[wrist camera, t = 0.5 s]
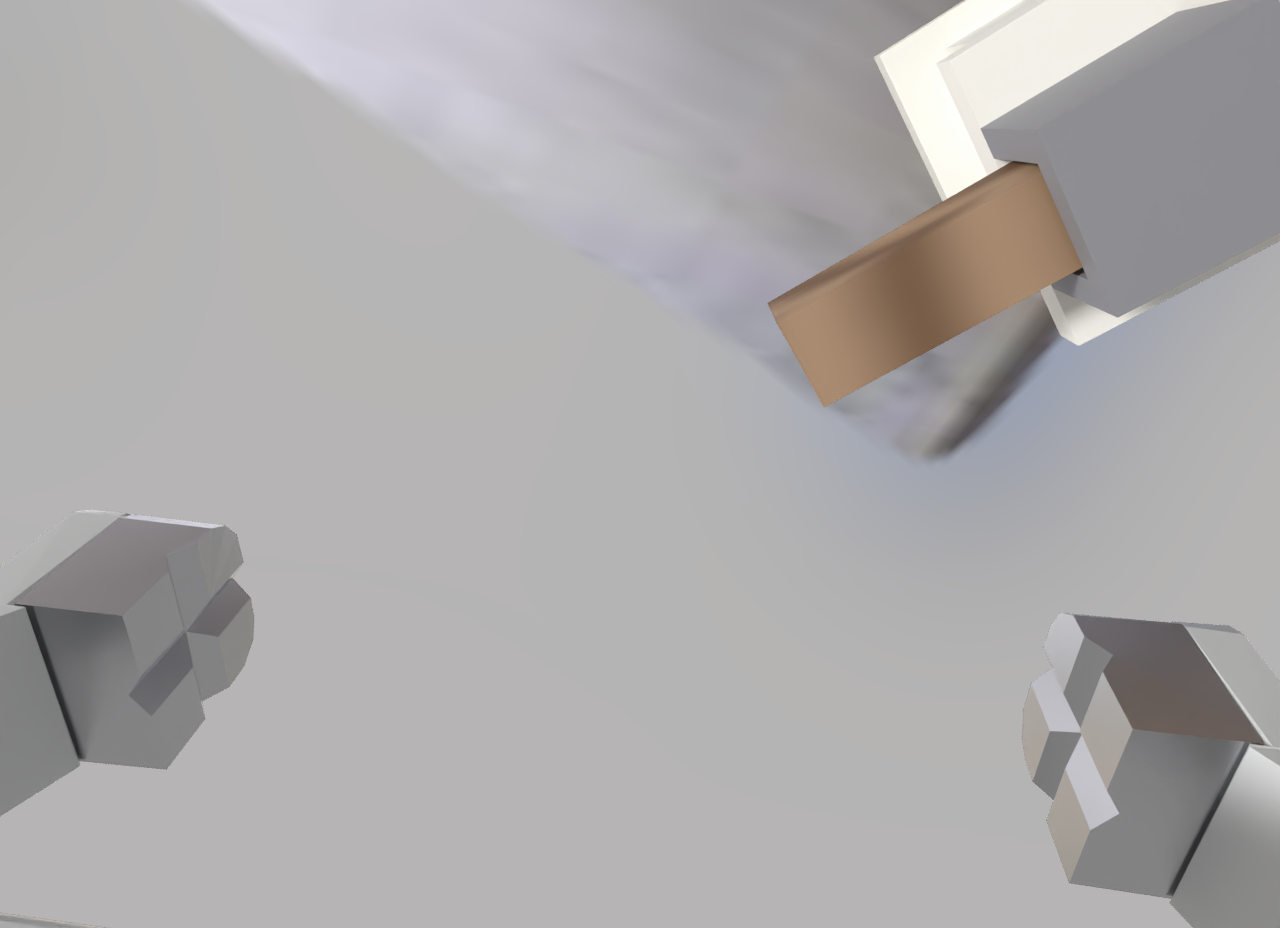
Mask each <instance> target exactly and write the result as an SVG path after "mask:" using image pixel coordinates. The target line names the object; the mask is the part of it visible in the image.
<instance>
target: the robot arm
mask: <svg viewBox="0 0 1280 928" xmlns="http://www.w3.org/2000/svg"><path fill="white" fill-rule="evenodd" d="M242 563H243V558H242V554H241V550H240V546H239V542H238V538H237V534H235V533H234V532H232V531H231V530H230V529H229V528H227V527H226V526H224V525H217V524H209V523H201V522H193V521H184V520H177V519H168V518H160V517H153V516H145V515H136V514H135V515H130V514H127V513H119V512H108V511H99V510H83V511H75V512H72V513H70V514H69V515H67V516H66V517H65V518H63V519H62V520H61V521H59V522H58V523H57V524H55V525H54V526H53V527H51V528H50V529H49V530H47V531H46V532H45V533H43V534H42V535H41V536H39V537H38V538H37V539H35V540H34V541H33V542H31V543H30V544H29V545H27V546H26V547H25V548H24V549H22V550H21V551H19V552H18V553H17V554H15V555H14V556H13V557H11V558H10V559H9V560H7V561H6V562H5V563H3V564H2V565H1V566H0V816H1V815H3V814H4V813H6V812H8V811H9V810H11V809H12V808H14V807H16V806H17V805H19V804H20V803H22V802H23V801H25V800H27V799H28V798H30V797H31V796H33V795H34V794H36V793H38V792H39V791H41V790H43V789H44V788H46V787H47V786H49V785H50V784H52V783H54V782H55V781H56V780H58V779H60V778H61V777H63V776H65V775H66V774H68V773H69V772H71V771H73V770H74V769H76V768H77V767H79V766H80V762H79V761H84V762H94V763H105V764H115V765H125V766H137V767H146V768H156V769H167V768H168V767H169V766H170V764H171V763H172V761H173V760H174V759H175V758H176V756H177V755H178V754H179V752H180V751H181V750H182V749H183V747H184V746H185V744H186V743H187V742H188V741H189V739H190V738H191V737H192V735H193V734H194V733H195V732H196V730H197V729H198V728H199V726H200V725H201V724H202V722H203V721H204V720H205V714H204V708H203V702H202V701H203V700H205V699H207V698H209V697H211V696H213V695H215V694H217V693H219V692H221V691H223V690H224V689H226V688H228V687H230V685H231V684H232V682H233V681H234V680H235V678H236V677H237V675H238V674H239V673H240V671H241V670H242V668H243V667H244V665H245V662H246V659H247V656H248V653H249V650H250V647H251V644H252V641H253V632H254V614H253V609H252V603H251V598H250V597H249V595H248V594H247V593H246V592H245V591H244V590H243V589H242V588H241V587H240V586H239V585H238V583H237V582H236V581H235V580H234V579H233V577H234V575H235V574H236V572H237V571H238V569H239V568H240V566H241V565H242ZM1043 648H1044V650H1045V652H1046V655H1047V657H1048V659H1049V662H1050V664H1051V666H1052V668H1051V669H1050V670H1048V671H1047V672H1046V673H1044V674H1043V675H1041V676H1040V677H1039V678H1037V679H1036V680H1035V681H1033V682H1032V683H1031V685H1030V689H1029V692H1028V696H1027V699H1026V703H1025V706H1024V710H1023V728H1022V742H1023V748H1024V754H1025V760H1026V763H1027V766H1028V769H1029V772H1030V775H1031V778H1032V781H1033V782H1034V783H1035V784H1036V785H1037V786H1038V787H1039V788H1041V789H1042V790H1043V791H1044V792H1045V793H1046V794H1047V795H1049V796H1050V797H1051V798H1052V799H1053V800H1054V801H1053V803H1052V806H1051V809H1050V812H1049V814H1048V817H1047V820H1046V821H1047V824H1048V826H1049V829H1050V832H1051V835H1052V837H1053V840H1054V843H1055V846H1056V848H1057V851H1058V854H1059V856H1060V859H1061V862H1062V864H1063V868H1064V870H1065V873H1066V876H1067V878H1068V881H1069V883H1073V884H1079V885H1085V886H1092V887H1098V888H1105V889H1112V890H1118V891H1124V892H1131V893H1138V894H1144V895H1151V896H1157V897H1164V898H1171V901H1170V904H1171V905H1172V906H1173V907H1174V908H1175V909H1176V910H1177V911H1178V912H1179V913H1180V914H1181V916H1183V918H1184V919H1185V920H1186V921H1187V922H1188V923H1189V924H1190V925H1191V926H1192V927H1193V928H1280V681H1279V679H1278V678H1277V677H1276V676H1275V674H1274V673H1273V672H1272V670H1271V669H1270V668H1269V667H1268V665H1267V664H1266V663H1265V661H1264V660H1263V659H1262V657H1261V656H1260V655H1259V654H1258V652H1257V651H1256V650H1255V648H1254V647H1253V646H1252V644H1251V643H1250V642H1249V641H1248V639H1247V638H1246V637H1245V635H1244V634H1242V633H1241V632H1239V631H1237V630H1235V629H1234V628H1232V627H1230V626H1225V625H1212V624H1197V623H1183V622H1171V623H1168V622H1157V621H1146V620H1134V619H1123V618H1112V617H1101V616H1090V615H1078V614H1068V613H1059V615H1058V616H1057V617H1056V619H1055V620H1054V621H1053V623H1052V624H1051V626H1050V628H1049V631H1048V634H1047V637H1046V640H1045V643H1044V646H1043ZM0 928H106V927H98V926H91V925H84V924H77V923H69V922H63V921H56V920H48V919H41V918H35V917H27V916H20V915H13V914H6V913H0Z"/></svg>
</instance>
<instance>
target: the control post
mask: <svg viewBox="0 0 1280 928" xmlns="http://www.w3.org/2000/svg"><path fill="white" fill-rule="evenodd" d="M874 59H875V61H876V63H877V65H878V67H879V70H880V72H881V74H882V76H883V78H884V80H885V82H886V84H887V86H888V88H889V90H890V93H891V95H892V97H893V99H894V101H895V103H896V105H897V107H898V109H899V111H900V113H901V116H902V118H903V120H904V122H905V124H906V126H907V128H908V130H909V132H910V134H911V136H912V139H913V141H914V143H915V145H916V147H917V149H918V151H919V153H920V155H921V157H922V160H923V162H924V164H925V166H926V168H927V170H928V172H929V174H930V176H931V178H932V180H933V183H934V185H935V187H936V189H937V191H938V193H939V195H940V197H941V199H942V201H944V200H946V199H948V198H950V197H951V196H953V195H955V194H957V193H958V192H960V191H962V190H963V189H965V188H967V187H969V186H970V185H972V184H974V183H975V182H977V181H979V180H981V179H982V178H984V177H986V176H988V175H989V174H991V173H993V172H994V171H996V170H998V169H1000V168H1001V167H1003V166H1005V165H1006V164H1008V163H1010V162H1012V161H1019V162H1027V163H1035V164H1038V166H1039V168H1040V171H1041V173H1042V175H1043V178H1044V180H1045V182H1046V184H1047V187H1048V189H1049V191H1050V194H1051V196H1052V198H1053V200H1054V203H1055V205H1056V207H1057V210H1058V212H1059V214H1060V216H1061V219H1062V221H1063V223H1064V226H1065V228H1066V230H1067V232H1068V235H1069V237H1070V239H1071V242H1072V244H1073V246H1074V248H1075V251H1076V253H1077V255H1078V258H1079V260H1080V262H1081V264H1082V268H1080V269H1079V270H1077V271H1075V272H1073V273H1071V274H1069V275H1068V276H1066V277H1064V278H1062V279H1060V280H1058V281H1056V282H1055V283H1053V284H1051V285H1049V286H1047V287H1045V288H1044V289H1042V290H1040V292H1041V294H1042V296H1043V298H1044V300H1045V303H1046V305H1047V307H1048V309H1049V311H1050V314H1051V316H1052V318H1053V320H1054V322H1055V325H1056V327H1057V329H1058V331H1059V333H1060V335H1061V336H1062V337H1064V338H1066V339H1068V340H1069V341H1071V342H1073V343H1075V344H1076V345H1078V346H1079V345H1081V344H1083V343H1085V342H1087V341H1089V340H1091V339H1093V338H1095V337H1096V336H1098V335H1100V334H1102V333H1104V332H1106V331H1108V330H1110V329H1112V328H1114V327H1116V326H1117V325H1120V324H1121V323H1123V322H1125V321H1127V320H1129V319H1131V318H1133V317H1135V316H1137V315H1139V314H1141V313H1142V312H1144V311H1146V310H1148V309H1150V308H1152V307H1154V306H1156V305H1158V304H1160V303H1162V302H1164V301H1165V300H1167V299H1169V298H1171V297H1173V296H1175V295H1177V294H1179V293H1181V292H1183V291H1185V290H1187V289H1188V288H1190V287H1192V286H1194V285H1196V284H1198V283H1200V282H1202V281H1204V280H1206V279H1208V278H1210V277H1211V276H1213V275H1215V274H1217V273H1219V272H1221V271H1223V270H1225V269H1227V268H1228V267H1230V266H1233V265H1234V264H1236V263H1238V262H1240V261H1242V260H1244V259H1246V258H1248V257H1250V256H1252V255H1254V254H1256V253H1257V252H1259V251H1261V250H1263V249H1265V248H1267V247H1269V246H1271V245H1273V244H1275V243H1276V242H1278V241H1280V0H964V1H962V2H960V3H959V4H957V5H956V6H954V7H953V8H951V9H949V10H948V11H946V12H945V13H943V14H941V15H940V16H938V17H937V18H935V19H934V20H932V21H930V22H929V23H927V24H926V25H924V26H922V27H921V28H919V29H918V30H916V31H915V32H913V33H911V34H910V35H908V36H907V37H905V38H903V39H902V40H900V41H899V42H897V43H896V44H894V45H892V46H891V47H889V48H888V49H886V50H884V51H883V52H881V53H880V54H878V55H877V56H875V57H874Z"/></svg>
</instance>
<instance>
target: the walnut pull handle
mask: <svg viewBox="0 0 1280 928" xmlns="http://www.w3.org/2000/svg"><path fill="white" fill-rule="evenodd" d="M1080 268H1082V264H1081V262H1080V260H1079V258H1078V255H1077V253H1076V251H1075V248H1074V246H1073V244H1072V242H1071V239H1070V237H1069V235H1068V232H1067V230H1066V228H1065V226H1064V223H1063V221H1062V219H1061V216H1060V214H1059V212H1058V210H1057V207H1056V205H1055V203H1054V200H1053V198H1052V196H1051V194H1050V191H1049V189H1048V187H1047V184H1046V182H1045V180H1044V178H1043V175H1042V173H1041V171H1040V168H1039V166H1038V164H1035V163H1027V162H1019V161H1012V162H1010V163H1008V164H1006V165H1005V166H1003V167H1001V168H1000V169H998V170H996V171H994V172H993V173H991V174H989V175H988V176H986V177H984V178H982V179H981V180H979V181H977V182H975V183H974V184H972V185H970V186H969V187H967V188H965V189H963V190H962V191H960V192H958V193H957V194H955V195H953V196H951V197H950V198H948V199H946V200H944V201H943V202H941V203H939V204H938V205H936V206H934V207H932V208H931V209H929V210H927V211H926V212H924V213H922V214H920V215H919V216H917V217H915V218H913V219H912V220H910V221H908V222H907V223H905V224H903V225H901V226H900V227H898V228H896V229H895V230H893V231H891V232H889V233H888V234H886V235H884V236H882V237H881V238H879V239H877V240H876V241H874V242H872V243H870V244H869V245H867V246H865V247H864V248H862V249H860V250H858V251H857V252H855V253H853V254H851V255H850V256H848V257H846V258H845V259H843V260H841V261H839V262H838V263H836V264H834V265H833V266H831V267H829V268H827V269H826V270H824V271H822V272H820V273H819V274H817V275H815V276H814V277H812V278H810V279H808V280H807V281H805V282H803V283H802V284H800V285H798V286H796V287H795V288H793V289H791V290H789V291H788V292H786V293H784V294H783V295H781V296H779V297H777V298H776V299H774V300H772V301H771V302H769V303H768V305H769V307H770V309H771V312H772V314H773V316H774V318H775V320H776V322H777V324H778V326H779V328H780V330H781V331H782V333H783V335H784V337H785V339H786V340H787V342H788V344H789V346H790V347H791V349H792V351H793V353H794V355H795V356H796V358H797V360H798V362H799V363H800V365H801V367H802V369H803V371H804V372H805V374H806V376H807V378H808V379H809V381H810V383H811V385H812V387H813V388H814V390H815V392H816V394H817V395H818V397H819V399H820V401H821V403H822V404H823V406H824V407H826V406H828V405H830V404H831V403H833V402H835V401H837V400H839V399H841V398H842V397H844V396H846V395H848V394H850V393H852V392H854V391H855V390H857V389H859V388H861V387H863V386H865V385H866V384H868V383H870V382H872V381H874V380H876V379H878V378H879V377H881V376H883V375H885V374H887V373H889V372H890V371H892V370H894V369H896V368H898V367H900V366H901V365H903V364H905V363H907V362H909V361H911V360H913V359H914V358H916V357H918V356H920V355H922V354H924V353H925V352H927V351H929V350H931V349H933V348H935V347H937V346H938V345H940V344H942V343H944V342H946V341H948V340H949V339H951V338H953V337H955V336H957V335H959V334H961V333H962V332H964V331H966V330H968V329H970V328H972V327H973V326H975V325H977V324H979V323H981V322H983V321H985V320H986V319H988V318H990V317H992V316H994V315H996V314H997V313H999V312H1001V311H1003V310H1005V309H1007V308H1008V307H1010V306H1012V305H1014V304H1016V303H1018V302H1020V301H1021V300H1023V299H1025V298H1027V297H1029V296H1031V295H1032V294H1034V293H1036V292H1038V291H1040V290H1042V289H1044V288H1045V287H1047V286H1049V285H1051V284H1053V283H1055V282H1056V281H1058V280H1060V279H1062V278H1064V277H1066V276H1068V275H1069V274H1071V273H1073V272H1075V271H1077V270H1079V269H1080Z"/></svg>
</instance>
